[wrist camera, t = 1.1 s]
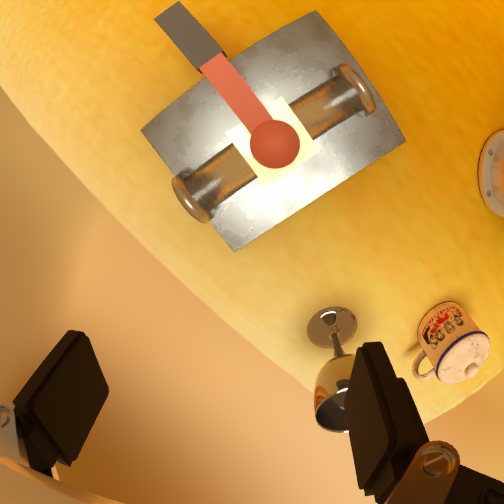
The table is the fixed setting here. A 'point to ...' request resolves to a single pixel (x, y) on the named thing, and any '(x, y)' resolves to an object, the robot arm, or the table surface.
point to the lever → (231, 89)
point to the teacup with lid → (450, 344)
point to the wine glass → (332, 365)
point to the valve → (280, 108)
